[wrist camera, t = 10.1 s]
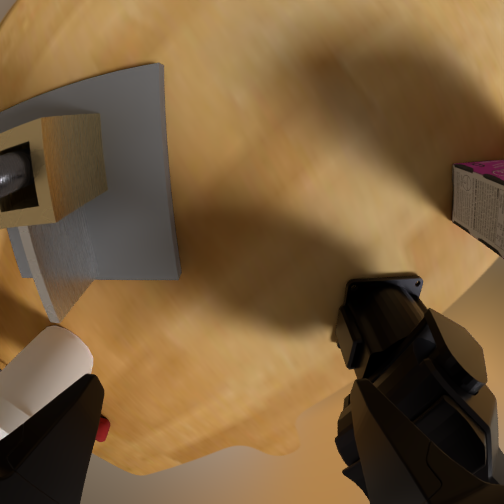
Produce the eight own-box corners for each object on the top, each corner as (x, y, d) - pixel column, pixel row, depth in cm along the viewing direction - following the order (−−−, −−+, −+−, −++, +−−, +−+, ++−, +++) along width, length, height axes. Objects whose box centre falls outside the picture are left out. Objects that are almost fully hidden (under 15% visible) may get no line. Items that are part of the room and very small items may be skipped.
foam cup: (73, 305, 22) (-3, 418, 10) (123, 378, 26) (84, 488, 14) (18, 319, 23) (-45, 404, 12) (64, 381, 27) (22, 467, 15)
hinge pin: (80, 134, 15) (-9, 154, 8) (86, 163, 16) (0, 198, 9) (58, 143, 16) (-30, 168, 8) (64, 171, 16) (-21, 208, 9)
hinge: (100, 113, 15) (40, 117, 10) (124, 273, 20) (88, 326, 14) (-8, 146, 15) (-62, 164, 10) (20, 272, 20) (-20, 310, 14)
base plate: (163, 65, 15) (158, 62, 14) (181, 272, 21) (178, 280, 20) (-2, 116, 15) (-10, 117, 14) (28, 271, 21) (22, 277, 20)
